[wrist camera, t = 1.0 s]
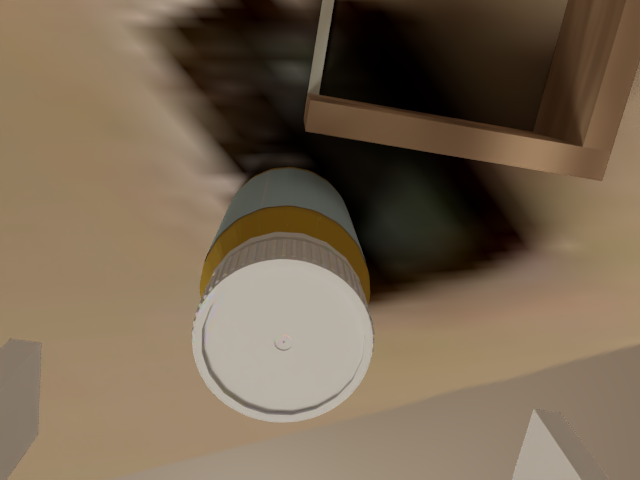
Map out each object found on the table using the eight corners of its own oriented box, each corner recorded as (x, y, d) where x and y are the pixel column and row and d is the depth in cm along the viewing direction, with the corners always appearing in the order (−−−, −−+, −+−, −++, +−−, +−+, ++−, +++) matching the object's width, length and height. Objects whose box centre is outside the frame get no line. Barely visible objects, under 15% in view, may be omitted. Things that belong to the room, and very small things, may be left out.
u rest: (303, 118, 32) (305, 131, 27) (345, -145, 29) (358, -196, 23) (549, 160, 34) (602, 181, 28) (619, -88, 30) (696, -123, 24)
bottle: (320, 144, 33) (339, 211, 18) (366, 254, 35) (416, 390, 20) (206, 193, 33) (140, 295, 19) (258, 298, 35) (233, 461, 21)
